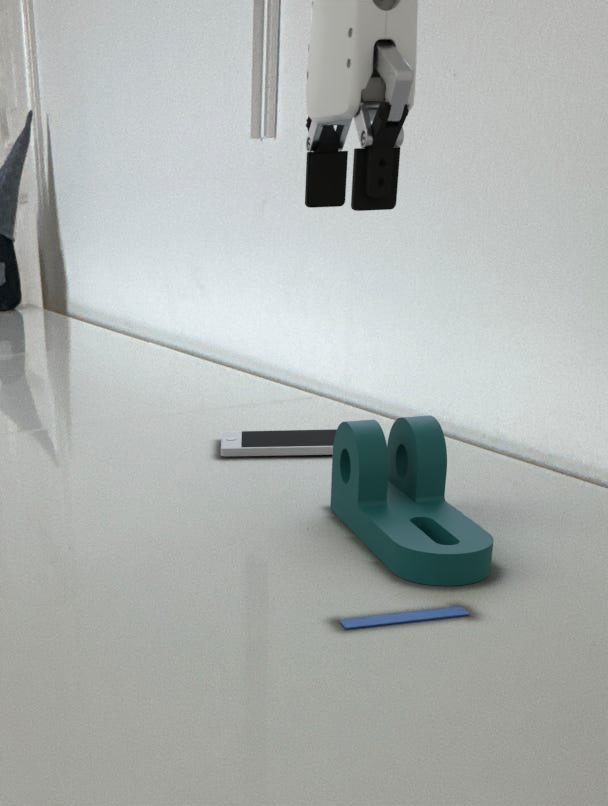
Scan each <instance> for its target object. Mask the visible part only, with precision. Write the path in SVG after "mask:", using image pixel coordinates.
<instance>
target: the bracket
mask: <svg viewBox="0 0 608 806" xmlns="http://www.w3.org/2000/svg"><path fill="white" fill-rule="evenodd" d="M336 429H337V431H336V434H335V438H334V444H333V455H331V457H332V460H331V481H330V482H331V484H330V487H331V488H330V506H329V507H330V508H329V509H330V510H331V511H332V512H333V514H335V516H337V517H338V519H340V521H342V523H343V524H345V526H347V528H349V530H350V531H351V532H352V533H353V534H354V535H355V536H356V537H357V538H358V539H359V540H360V541H361V542H362V543H363V544H364V545H365V546H366V547H367V548H368V549H369V550H370V552H372V553H373V554H374V555H375V556H376V558H378V559H379V560H380V562H381V563H383V564H384V565H385V567H386V568H387V569H388V570H389V571H390V572H391V573H393V574H394V575H395V576H397V577H399V578H400V579H402V580H403V579H404V580H406V581H409V582H413V583H416V584H422V585H428V586H437V587H454V586H455V587H456V586H465V585H472V584H475V583H478V582H481V581H483V580H485V579H487V578H488V577H489V575H490V574H491V568H492V558H493V549H494V541H495V539H494V537H493V535H492V534H491V533H490V532H488V531H487V530H486V529H484V528H483V527H481V525H479V524H478V523H476V522H475V521H474V520H472V519H471V518H469V517H468V516H466V515H465V514H464V513H463V512H461V511H460V510H459V509H457V508H456V507H455V506H453V505H452V504H451V503H449V502H448V501H446V497H445V496H446V495H445V494H446V484H447V472H448V452H447V451H448V450H447V444H446V439H445V434H444V431H443V428H442V426H441V424H440V422H439V420H438V419H437V418H436V417H435V416H433V415H417V416H404V417H398V418H396V420H395V421H394V422H393V423H392V425H391V428H390V430H389V434H388V439H387V440H386V436H385V432H384V430H383V428H382V426H381V424H380V423H379V422H378V420H376V419H361V420H360V419H359V420H346V421H342V422H340V423H339V424H338V427H337V428H336Z"/></svg>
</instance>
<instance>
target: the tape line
mask: <svg viewBox="0 0 608 806" xmlns="http://www.w3.org/2000/svg"><path fill="white" fill-rule="evenodd" d="M469 615H470V613H469V612H468V611H467V610H465V609H464V608H463V607H462V606H459V605H458V606H451V607H443V608H435V609H426V610H417V611H407V612H397V613H390V614H381V615H372V616H363V617H355V618H346V619H339V620H338V623H340V625H341V626H342V627H343V628H344V629H345V630H352V629H361V628H369V627H377V626H385V625H394V624H395V625H396V624H403V623H411V622H412V623H413V622H420V621H429V620H436V619H437V620H438V619H439V620H440V619H446V618H454V617H455V618H457V617H464V616H465V617H466V616H469Z"/></svg>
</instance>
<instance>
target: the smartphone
mask: <svg viewBox="0 0 608 806" xmlns="http://www.w3.org/2000/svg"><path fill="white" fill-rule="evenodd" d="M336 431H337V428H330V429H329V428H327V429H325V428H324V429H321V428H319V429H280V430H279V429H278V430H277V429H276V430H275V429H273V430H272V429H271V430H228V431H227V430H225V431H222V432H221V440H220V441H221V442H220V456H221V457H269V456H270V457H271V456H273V457H274V456H323V455H324V456H325V455H326V456H329V455H331V456H333V444H334V438H335V434H336Z"/></svg>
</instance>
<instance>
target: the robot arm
mask: <svg viewBox="0 0 608 806" xmlns="http://www.w3.org/2000/svg"><path fill="white" fill-rule="evenodd" d="M311 1H312V2H311V13H310V23H309V34H308V46H307V47H308V50H307V64H306V83H305V84H306V89H305V91H306V92H305V96H306V97H305V99H306V114H307V116H308V117H307V118H306V120H305V121H306V123H305V127H306V129H307V132H308V133H307V136H306V139H305V140H306V142H305V149H306V164H305V165H306V167H305V191H304V205H305V207H306V208H310V209H311V208H312V209H313V208H336V207H337V208H338V207H343V206H344V205H345V204H346V193H347V176H348V175H347V174H348V157H349V151H348V150H343V149H344V146H345V144H346V140H347V137H348V134H349V131H350V128H351V124H352V122H353V120H354V124H355V129H356V133H357V137H358V142H359V146H360V147H359V148H358V147H356V148H353V161H352V162H353V164H352V165H353V166H352V181H351V196H350V197H351V198H350V208H351V209H352V211H356V212H365V211H386V210H387V211H390V210H393V209H395V208H396V205H397V198H398V197H397V196H398V185H399V170H400V158H401V157H400V156H401V147H402V146H403V143H404V139H405V132H404V127H403V126H404V124H405V122H406V119H407V117H408V115H409V113H410V111H411V110H412V109H413V107H414V104H415V100H416V86H417V67H418V47H419V46H418V44H419V0H311ZM335 126H336V128H335Z"/></svg>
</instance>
